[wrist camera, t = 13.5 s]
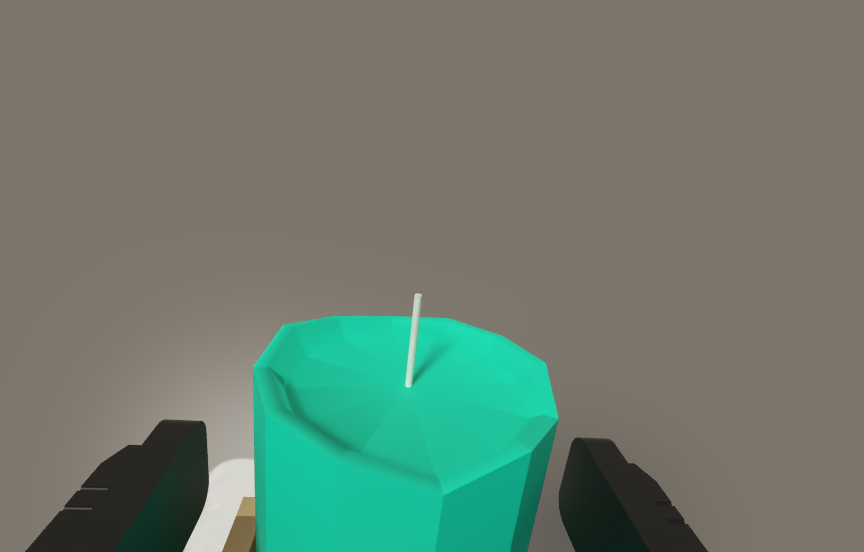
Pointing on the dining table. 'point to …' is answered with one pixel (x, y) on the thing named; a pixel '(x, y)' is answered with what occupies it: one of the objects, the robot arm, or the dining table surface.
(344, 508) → the candle
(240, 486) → the dining table surface
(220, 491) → the dining table surface
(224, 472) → the dining table surface
